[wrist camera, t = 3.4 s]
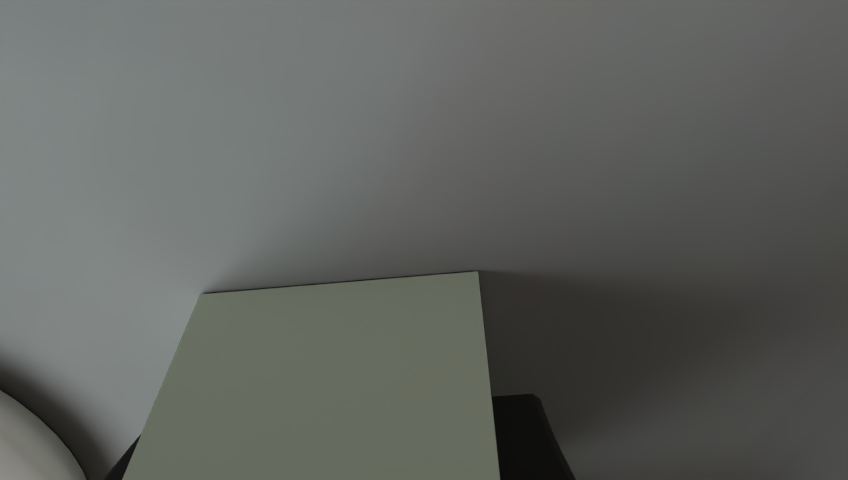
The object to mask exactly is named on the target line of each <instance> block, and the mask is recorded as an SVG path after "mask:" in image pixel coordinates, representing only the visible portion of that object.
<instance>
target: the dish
mask: <svg viewBox="0 0 848 480" xmlns="http://www.w3.org/2000/svg"><path fill="white" fill-rule="evenodd" d="M0 480H87V479H86V477H85V475H84V472H83V470H82V469H81V467H80V466H79V464H78V463H77V461H76V459H75V458H74V456H73V455H72V453H71V452H70V451H69V449H68V448H67V447H66V446H65V445H64V443H63V442H62V441H61V440H60V439H59V437H58V436H57V435H56V434H55V433H54V432H53V431H52V430H51V429H50V428H49V427H48V426H46V425H45V424H44V423H43V422H42V421H41V420H40V419H39V418H38V417H37V416H36V415H34V414H33V413H32V412H30V411H29V410H28V409H27V408H25V407H24V406H23V405H21V404H20V403H19V402H18V401H16V400H15V399H13V398H12V397H10V396H9V395H7V394H5V393H4V392H2V391H1V390H0Z"/></svg>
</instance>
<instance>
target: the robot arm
mask: <svg viewBox="0 0 848 480" xmlns="http://www.w3.org/2000/svg"><path fill="white" fill-rule="evenodd" d="M491 398H492V408H493V417H494V426H495V436H496V445H497V454H498V464H499V473H500V480H576V479H575V478H574V476H573V474H572V472H571V470H570V468H569V466H568V464H567V462H566V460H565V458H564V456H563V454H562V452H561V449H560V447H559V445H558V443H557V441H556V439H555V436H554V434H553V432H552V429H551V427H550V425H549V422H548V420H547V417H546V414H545V412H544V409H543V406H542V402H541V400H540V399H539V398H538V397H536V396H535V395H533V394H522V395H509V396H495V397H491ZM141 434H142V433H141ZM140 436H141V435H140ZM140 436H139V437H138V438H137V439H136V441H135V442H134V443H133V444H132V445H131V446H130V448H129V449H128V450H127V451H126V453H125V454H124V455H123V456H122V457H121V459H120V460H119V461H118V462H117V463H116V465H115V466H114V467H113V468H112V470H111V471H110V472H109V473H108V475H107V476H106V477H105V478H104V479H103V480H122V479H123V477H124V474H125V472H126V469H127V467H128V465H129V462H130V460H131V458H132V455H133V453H134V450H135V448H136V446H137V443H138V441H139V438H140Z"/></svg>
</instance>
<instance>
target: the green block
mask: <svg viewBox="0 0 848 480" xmlns="http://www.w3.org/2000/svg"><path fill="white" fill-rule="evenodd" d="M122 480H500V473H499V464H498V454H497V445H496V436H495V426H494V417H493V408H492V398H491V389H490V379H489V370H488V361H487V351H486V342H485V332H484V323H483V314H482V304H481V295H480V285H479V276H478V271H476V272H464V273H452V274H440V275H428V276H416V277H404V278H392V279H380V280H368V281H356V282H344V283H332V284H320V285H308V286H296V287H284V288H272V289H260V290H247V291H235V292H223V293H211V294H200V296H199V298H198V300H197V303H196V305H195V308H194V310H193V312H192V315H191V317H190V319H189V322H188V324H187V327H186V329H185V331H184V334H183V336H182V338H181V341H180V343H179V346H178V348H177V350H176V353H175V355H174V358H173V360H172V362H171V365H170V367H169V369H168V372H167V374H166V377H165V379H164V381H163V384H162V386H161V388H160V391H159V393H158V396H157V398H156V400H155V403H154V405H153V408H152V410H151V412H150V415H149V417H148V419H147V422H146V424H145V427H144V429H143V431H142V434H141V436H140V438H139V441H138V443H137V446H136V448H135V450H134V453H133V455H132V458H131V460H130V462H129V465H128V467H127V469H126V472H125V474H124V477H123V479H122Z"/></svg>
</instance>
